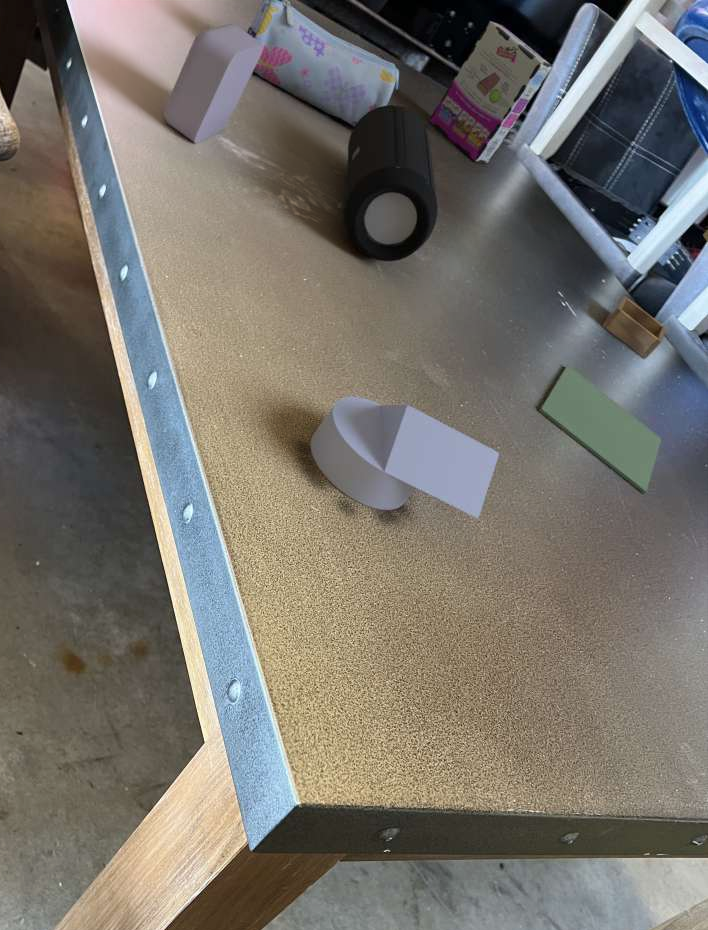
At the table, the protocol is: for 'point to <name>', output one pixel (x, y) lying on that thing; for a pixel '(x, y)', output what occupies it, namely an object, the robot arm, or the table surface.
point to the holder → (634, 327)
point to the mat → (603, 427)
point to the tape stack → (706, 235)
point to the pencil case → (319, 64)
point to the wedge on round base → (400, 456)
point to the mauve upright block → (212, 81)
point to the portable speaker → (390, 184)
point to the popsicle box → (489, 92)
